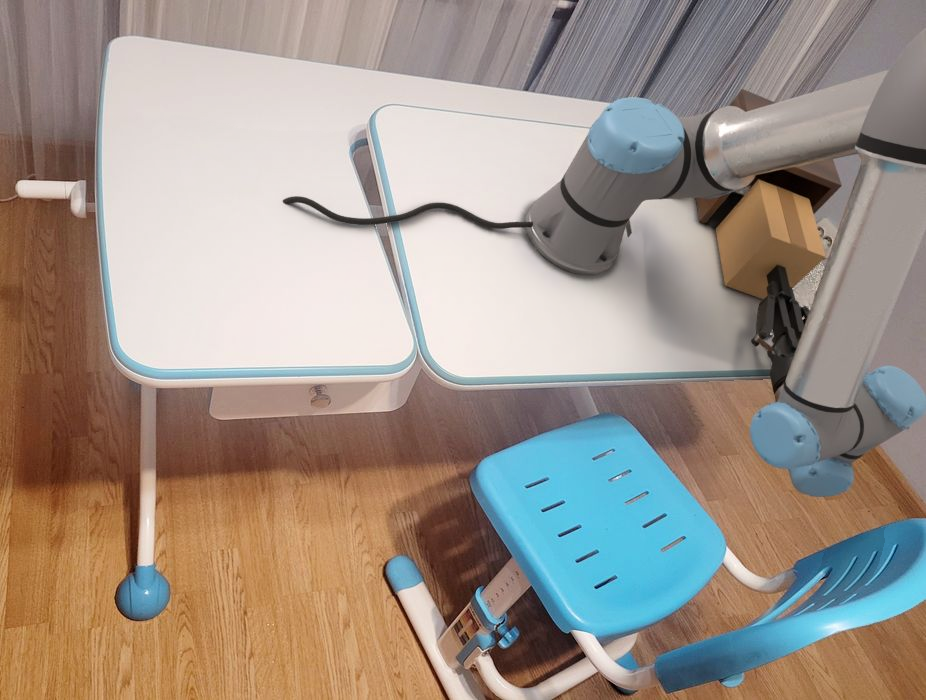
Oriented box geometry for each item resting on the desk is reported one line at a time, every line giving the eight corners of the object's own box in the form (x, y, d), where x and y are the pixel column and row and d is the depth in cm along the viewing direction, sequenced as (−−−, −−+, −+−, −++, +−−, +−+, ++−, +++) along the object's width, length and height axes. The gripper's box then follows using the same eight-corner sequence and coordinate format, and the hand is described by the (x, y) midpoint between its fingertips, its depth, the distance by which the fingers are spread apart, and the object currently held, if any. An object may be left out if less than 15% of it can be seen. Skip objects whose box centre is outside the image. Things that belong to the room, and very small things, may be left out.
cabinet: (778, 250, 137) (842, 185, 125) (699, 222, 134) (757, 151, 122) (762, 186, 149) (820, 120, 137) (689, 158, 145) (741, 88, 133)
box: (776, 303, 128) (826, 256, 119) (724, 285, 126) (772, 236, 117) (763, 246, 137) (809, 198, 127) (715, 228, 134) (758, 178, 125)
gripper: (745, 391, 109) (726, 273, 123) (822, 416, 111) (794, 298, 126) (780, 362, 103) (755, 242, 118) (860, 389, 106) (826, 269, 120)
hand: (775, 271), depth 122 cm, fingers closed
